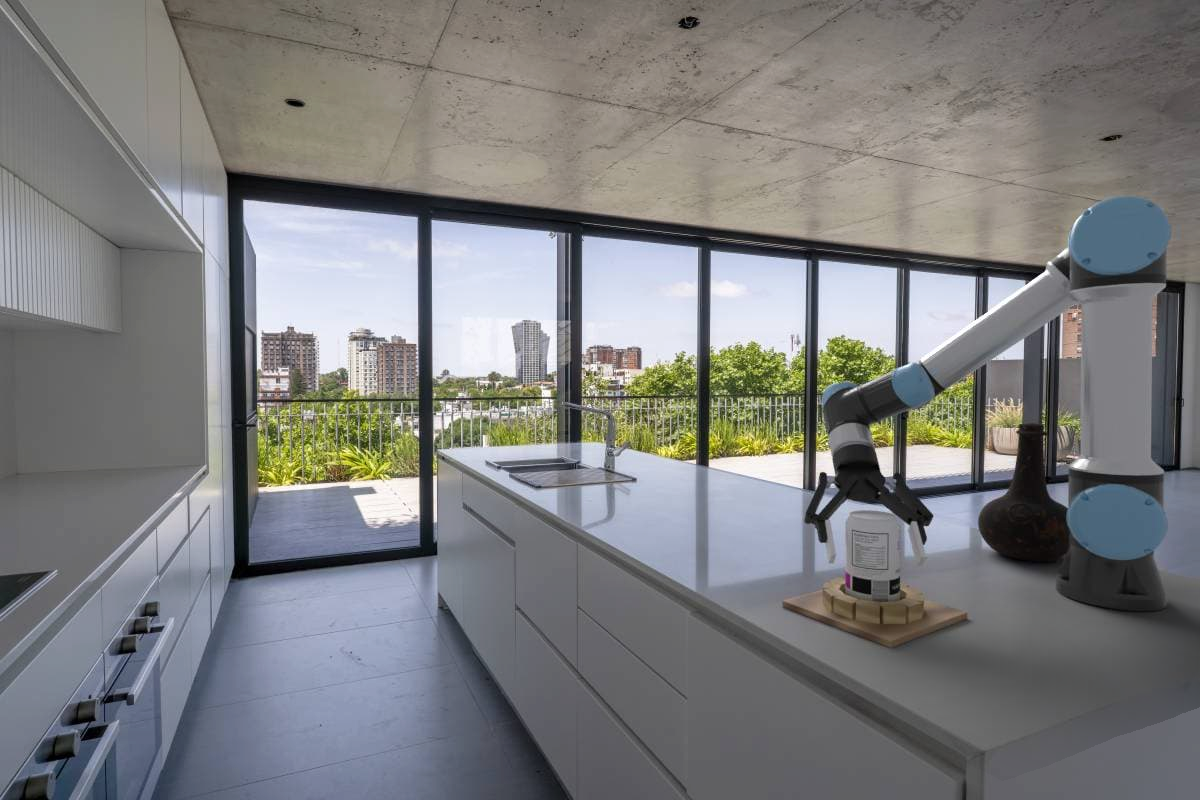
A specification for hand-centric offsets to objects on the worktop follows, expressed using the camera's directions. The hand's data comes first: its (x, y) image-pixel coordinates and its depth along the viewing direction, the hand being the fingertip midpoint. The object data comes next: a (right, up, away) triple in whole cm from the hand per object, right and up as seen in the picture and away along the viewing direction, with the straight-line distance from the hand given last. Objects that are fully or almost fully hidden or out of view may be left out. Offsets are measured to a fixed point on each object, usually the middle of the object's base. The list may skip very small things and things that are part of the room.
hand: (876, 560), depth 105 cm
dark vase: (+46, -7, +34) cm, 57 cm away
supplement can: (0, -8, +3) cm, 9 cm away
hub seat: (0, -9, +3) cm, 9 cm away
